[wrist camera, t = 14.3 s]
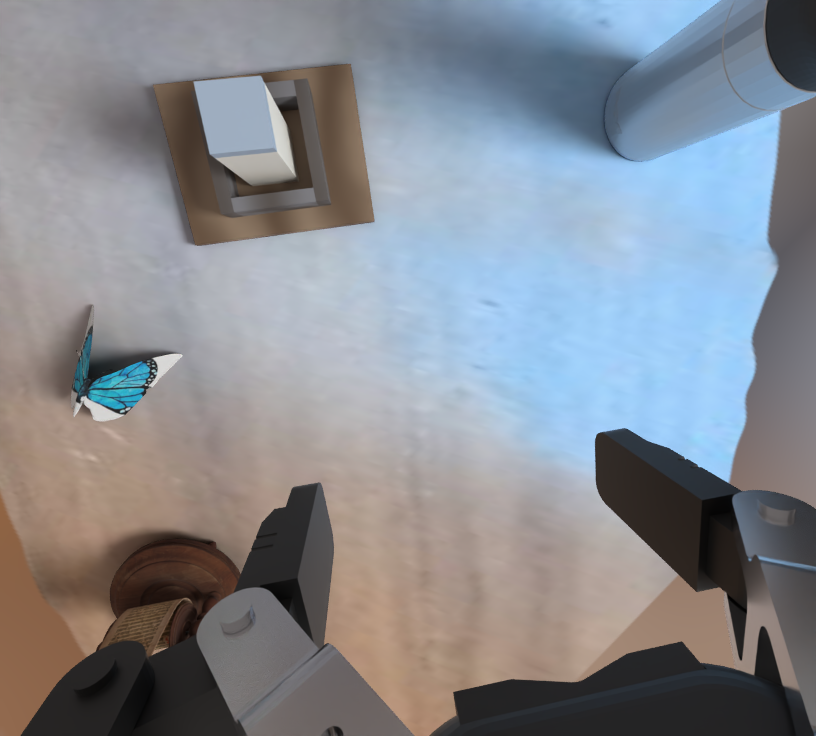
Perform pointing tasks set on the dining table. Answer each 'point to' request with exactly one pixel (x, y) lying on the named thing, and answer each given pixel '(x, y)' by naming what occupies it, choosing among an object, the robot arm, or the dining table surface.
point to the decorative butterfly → (115, 382)
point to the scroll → (168, 592)
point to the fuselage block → (246, 130)
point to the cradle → (313, 149)
